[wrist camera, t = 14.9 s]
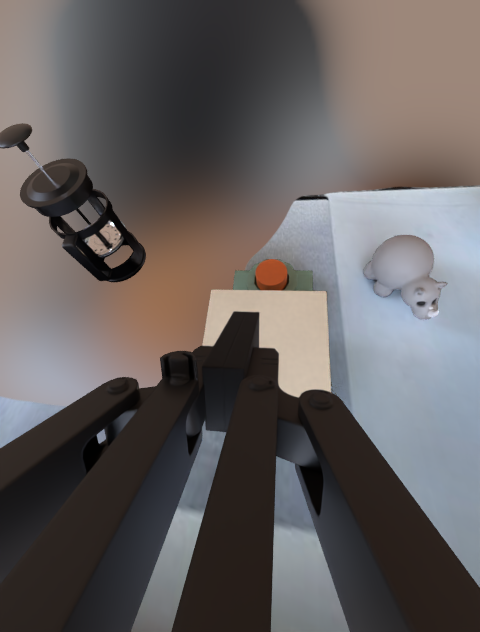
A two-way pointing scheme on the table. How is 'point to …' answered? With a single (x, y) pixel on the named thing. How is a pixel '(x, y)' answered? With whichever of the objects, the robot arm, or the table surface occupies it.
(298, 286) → the control block
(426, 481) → the table surface
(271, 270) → the button
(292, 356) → the lid
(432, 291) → the round bodied animal figurine
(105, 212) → the french press
